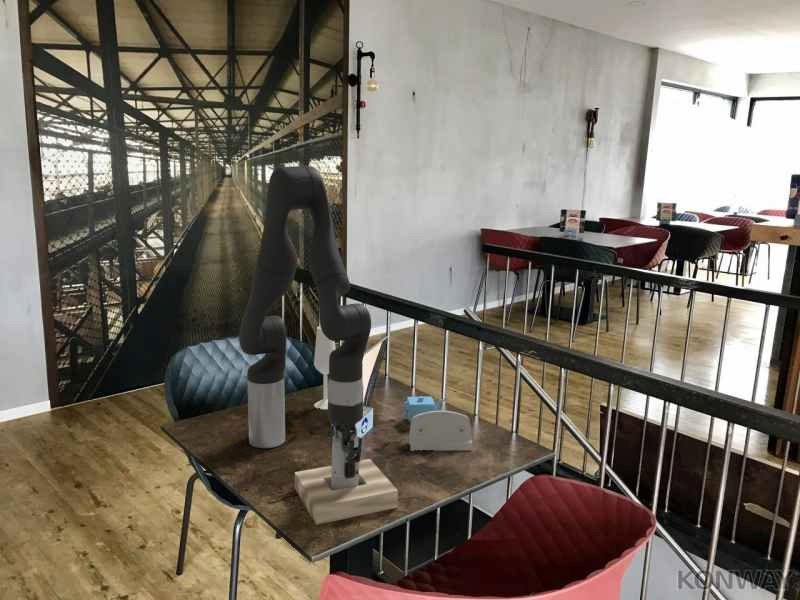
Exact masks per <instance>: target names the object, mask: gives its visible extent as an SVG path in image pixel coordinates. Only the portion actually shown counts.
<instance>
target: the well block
mask: <svg viewBox="0 0 800 600" xmlns="http://www.w3.org/2000/svg"><path fill="white" fill-rule="evenodd" d="M331 467H332V465H328V466H322V467H317V468H312V469H305V470H300V471H295V472H294V489H295V491H296V493H297V494H298V496H299V498H300V500H301V501H302V503H303V505H304V506H305V508H306V510H307V512H308V513H309V515H310V517H311V519H312V520H313V522H314V524H315V525H317V526H318V525H323V524H327V523H332V522H335V521H336V522H337V521H340V520H346V519H350V518H351V519H352V518H354V517H360V516H364V515H369V514H374V513H378V512H384V511H387V510H391V509H392V510H393V509H397V508H398V506H399V505H398V501H399V499H398V497H399V491H398V489H397V488H396V487H395V486H394V484H393V483H392V482H391V481H390V479H388V478H387V476H386V475H385V474H384V473H383V472H382V471H381V470H380V468H378V466H377V465H376V464H375V462H373V460H372V459H371V458H367V459H362V460H361V459H360V462H359V481H358V486H354V487H349V488H344V489H339V490H334V491H332V490H331Z"/></svg>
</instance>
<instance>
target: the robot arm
mask: <svg viewBox="0 0 800 600" xmlns="http://www.w3.org/2000/svg"><path fill="white" fill-rule="evenodd" d="M329 203H330V202H329V198H328V193H327V188H326V184H325V182H324V178H323V175H322V173H321V172H320V171H319V170H318V169H317V168H316V167H314V166H309V165H300V166H299V165H297V166H280V167H276V168H275V169H274V170H273V171H272V172H271V174H270V177H269V180H268V186H267V193H266V202H265V214H264V221H263V222H264V223H263V229H262V233H261V234H262V235H261V240H260V244H259V249H258V254H257V255H256V262H255V265H254V273H253V280H252V285H251V289H250V294H249V299H248V302H247V305H246V307H245V310H244V314H243V316H242V320H241V324H240V327H239V332H238V333H239V336H238V337H239V338H238V339H239V340H238V341H239V346H240V349H241V351H242V352H243V353H244V354H245V355H248V356H258V355H264V356H262V358H261V359H260V360H258V361H256V362H255V363H253V364H251V365H250V366H249V367H248V369H247V372H246V375H247V380H246V381H247V408H248V410H247V411H248V412H247V413H248V415H247V416H248V442H249V445H251V446H252V447H254V448H259V449H270V448H271V449H272V448H275V447H278V446H281V445H282V444H284V443H285V441H286V413H285V412H286V409H285V408H286V407H285V403H286V402H285V399H286V397H285V370H286V367H287V366H286V365H287V362H286V359H287V329H286V324H285V321H284V319H283V318H282V317H281V316H279V315H269V316H268V313H269V312H270V310H272V309H273V307H274V306H275V305H276V304H277V303H278V302H279V301H280V300H281V299H282V298H283V296H284V295H285V294H286V293H287V292H289V289H290V288H291V287H292V284H293V282H294V278H295V275H296V271H297V266H298V261H299V258H298V253H297V250H296V248H295V246H294V243H293V242H292V240H291V237H290V236H289V233H288V230H287V226H288V225H287V223H288V217H289V213H290V212H291V211H295V210H296V211H297V210H298V211H299V210H308V212H309V214H310V216H311V221H312V225H313V226H312V235H311V239H310V243H309V247H308V248H309V249H308V254H307V261H308V267H309V273H310V274H311V277H312V280H313V282H314V283H313V284H314V286H315V288H316V292H317V300H318V302H317V303H318V315H319V317H318V318H319V326H321V330H322V332H323V333H324V335H325V336H326V337H327V338H328V339H329V340H331V341H335V342H341V341H343V343H342V344H341V345H340V346H339V347H337V348H335V350H333V351H332V352H331V353H330V356H329V374H328V381H327V399H328V409H327V419H328V420H329V424H330V425H329V426H330V439H331V440H330V443H331V444H332V443H333V436H334V437H335V438H337V437H338V438H339V439H340V447H341V451H342V452H343V453H344V476H345V478H346V479H348V478H353V477H355V462H360V461H361V454H362V446H363V439H362V437H361V436H360V437H359V438H357V436H358V429H357V427H356V425H357V424H358V423H359V422H361V421H362V420H363V418H364V382H363V373H364V371H363V367H364V365H363V362H364V361H363V359H364V356H365V353H366V349H367V346H368V345H367V344H368V342H369V339H370V335H371V332H372V331H371V330H372V318H371V313H370V312H369V310H368V308H367V306H365V305H364V304H362V303H350V304H343V305H340V304H339V298H340V297H343V296H344V295H345V294H347V293H348V292H349V291H350V290H351V282H350V279H349V276H348V273H347V271H346V267H345V265H344V263H343V262H344V261H343V259H342V257H341V254H340V251H339V247H338V244H337V240H336V236H335V229H334V224H333V218H332V213H331V207H330V204H329ZM344 445H348V447H345V446H344ZM347 452H348V454H347ZM352 455H353V456H352Z"/></svg>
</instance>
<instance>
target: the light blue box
mask: <svg viewBox="0 0 800 600" xmlns="http://www.w3.org/2000/svg"><path fill="white" fill-rule="evenodd" d="M444 401H446V399H444V398H442V399H439V400H438V401H437V402H436V403H435V401H434V398H433V396H423V395H422V396H421V395H420V396H407V397H406V401H404V402H403V405H402V408H403V410H404V411H405V413H404V417H405V418H407V421H408V424H411V419H412V417H413V416H415V415H417V414H420V413H424V412H429V411H439V410H440V406H441V404H442V402H444Z"/></svg>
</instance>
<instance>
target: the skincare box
mask: <svg viewBox="0 0 800 600" xmlns="http://www.w3.org/2000/svg"><path fill="white" fill-rule="evenodd" d="M359 437H361V436H359V435H357V438H359ZM331 444H332V445H331V446H332V447H331V466H332V467H331V490H332V491H334V490H339V489H344V488H349V487H354V486H358V481H359V462H355V477H353V478H348V479H346V478H345V476H344V453H343V452H342V451H341V447H340V439H339V438H338V437H337V438H335V437H334V436H333V443H332V442H331ZM344 446H345V447H348V445H344ZM347 454H348V452H347ZM352 456H353V455H352Z"/></svg>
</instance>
